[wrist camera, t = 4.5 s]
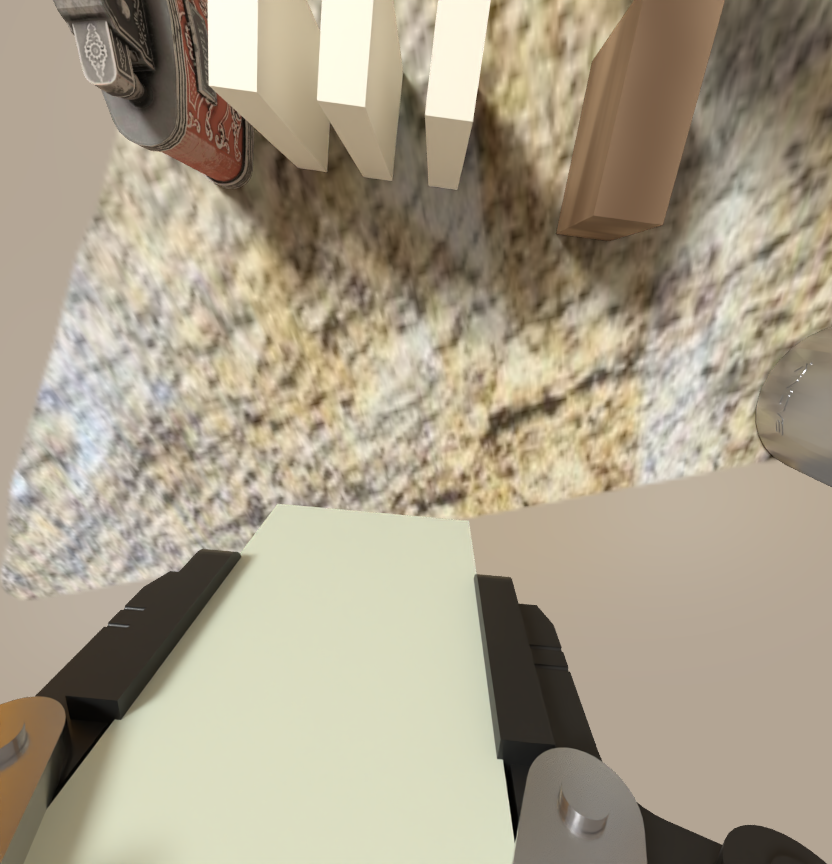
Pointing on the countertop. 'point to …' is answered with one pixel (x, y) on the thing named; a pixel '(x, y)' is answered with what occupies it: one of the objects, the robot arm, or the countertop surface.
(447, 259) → the countertop surface
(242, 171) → the lighter
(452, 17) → the domino
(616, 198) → the block
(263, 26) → the domino
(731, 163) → the countertop surface
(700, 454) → the countertop surface
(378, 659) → the domino
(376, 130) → the domino
